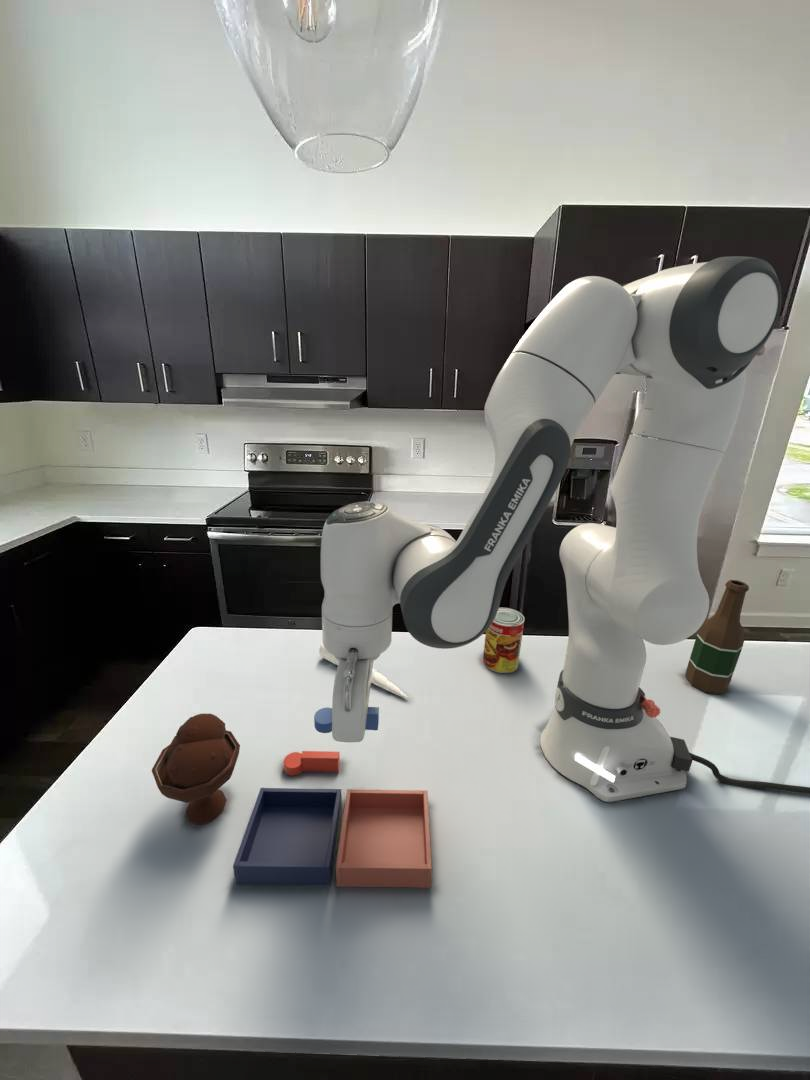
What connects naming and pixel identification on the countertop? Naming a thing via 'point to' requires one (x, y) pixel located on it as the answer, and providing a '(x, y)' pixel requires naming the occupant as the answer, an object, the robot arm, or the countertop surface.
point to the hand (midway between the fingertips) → (357, 714)
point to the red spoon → (311, 762)
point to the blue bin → (290, 838)
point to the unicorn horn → (376, 676)
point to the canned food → (504, 641)
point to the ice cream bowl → (198, 766)
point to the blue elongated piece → (325, 719)
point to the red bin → (385, 839)
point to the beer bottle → (719, 643)
